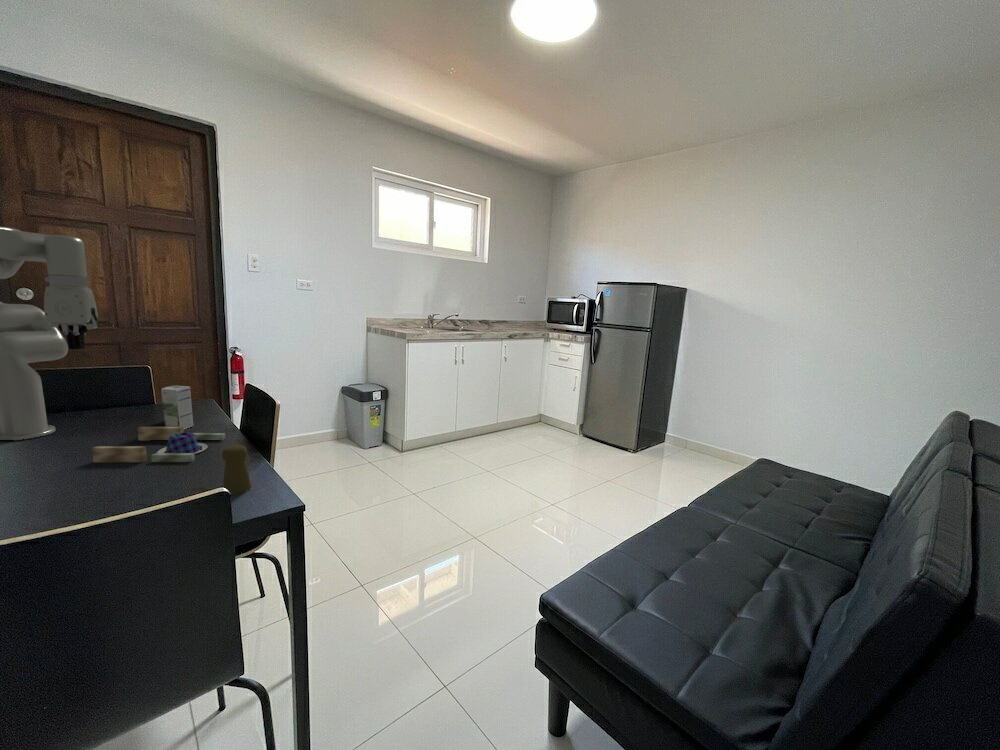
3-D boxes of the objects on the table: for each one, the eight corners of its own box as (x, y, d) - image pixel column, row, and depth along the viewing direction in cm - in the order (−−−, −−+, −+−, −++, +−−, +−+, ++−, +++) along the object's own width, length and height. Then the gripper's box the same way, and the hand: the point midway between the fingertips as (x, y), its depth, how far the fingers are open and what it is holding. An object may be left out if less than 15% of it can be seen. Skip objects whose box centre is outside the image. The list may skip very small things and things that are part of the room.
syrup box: (194, 426, 144) (191, 385, 142) (179, 432, 138) (176, 389, 136) (179, 425, 145) (175, 384, 142) (163, 430, 139) (160, 388, 136)
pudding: (182, 443, 130) (181, 427, 129) (217, 447, 128) (216, 430, 127) (145, 457, 118) (144, 439, 117) (183, 461, 117) (182, 443, 116)
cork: (230, 483, 105) (228, 442, 103) (255, 484, 105) (253, 442, 103) (216, 494, 99) (213, 450, 97) (243, 495, 99) (241, 451, 97)
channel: (93, 462, 112) (91, 448, 111) (141, 438, 130) (140, 426, 130) (191, 461, 116) (190, 448, 115) (225, 439, 134) (224, 427, 134)
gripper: (24, 280, 109) (33, 349, 113) (89, 284, 112) (96, 351, 115) (49, 281, 117) (57, 346, 120) (110, 284, 119) (116, 348, 122)
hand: (76, 348), depth 117 cm, fingers closed
